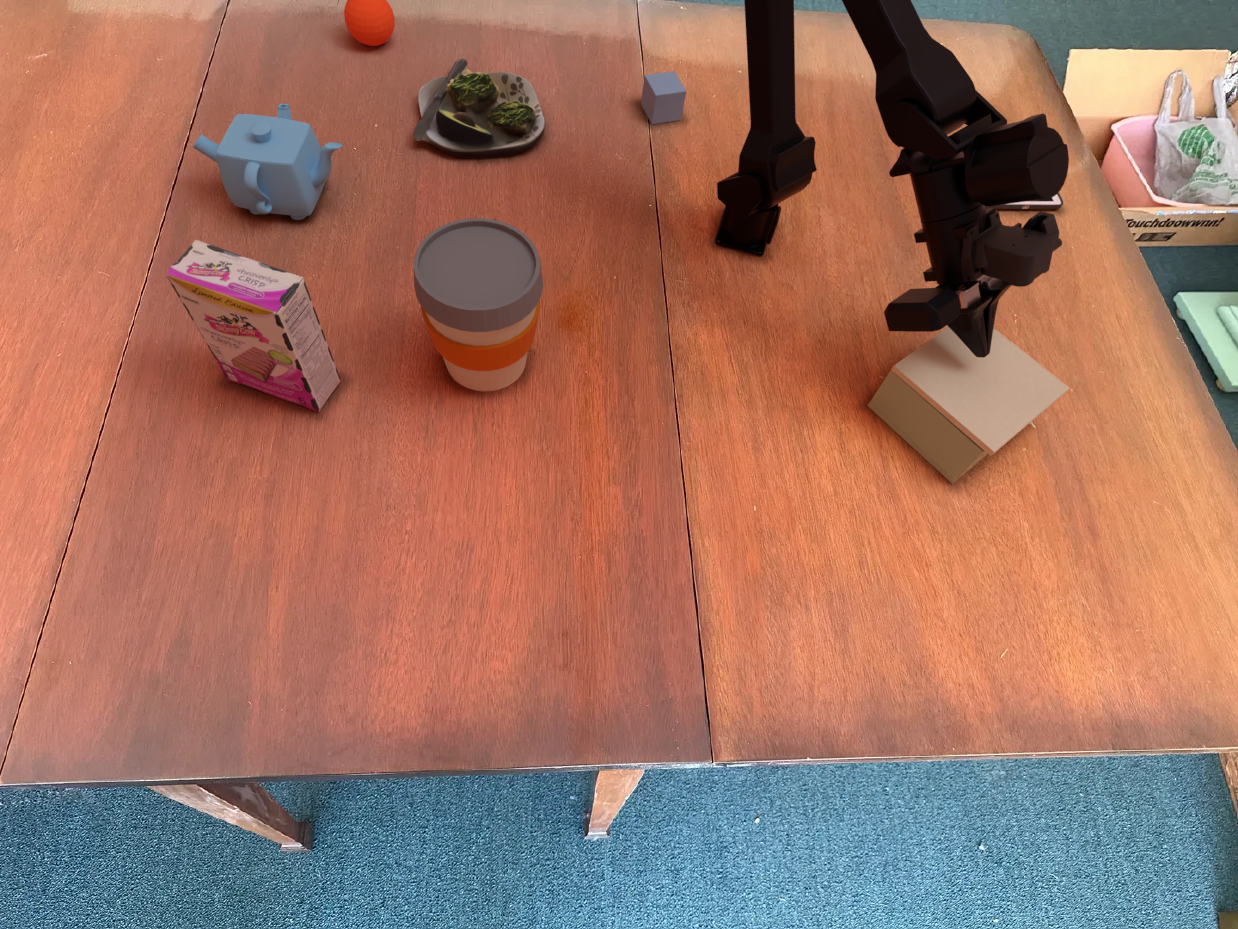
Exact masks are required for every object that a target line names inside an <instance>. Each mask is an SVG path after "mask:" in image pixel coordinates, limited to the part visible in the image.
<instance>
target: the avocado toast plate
mask: <svg viewBox="0 0 1238 929" xmlns="http://www.w3.org/2000/svg"><path fill="white" fill-rule="evenodd" d="M468 66H469V62H468V61H467V59H465V58H458V59H457V60H455V61H454V63H453V65H452V67H451V68H450V71H449V73H448V75H447V74H446V75H443V76H437V77H434V78H432V79H431V80H429V81H427V82H426V83H425V84H424V85H422V86H421V87H420V89H419V90H418V96H417V97H418V98H417V100H418V101H417V102H418V108H419V113H420V116H421V119H420V120H418V121H417V123H416V125H415V128H414V130H413V133H412V136H413V138H414V139H415V140H416V142H418V141H422V142H425V143H429V144H430V145H432V146H433V147H435V148H437V149H438V150H439V151H440V152H442V153H445V154H446V155H449V156H451V157H454V158H459V159H494V158H495V159H498V158H505V157H511V156H514V155H515V156H516V155H517V154H520V153H522V152H525V151H527V150H530V148H532V147H533V146H534V145H535V144H537V142H538V141H540V140H541V138H542V136H543V134H544V132H545V127H546V120H545V117H544V114H543V111H542V108H541V105H540V101H539V99H538V98H539V97H538V95H537V93H536V91H535V88H534V86H533V84H532V83H531V82H530V81H529V80H527V79H526V78H524V77H522V76H521V75H518V74H516V73H513V72H507V71H496V72H495V71H494V72H485V73H484V72H481V71H477V72H473V71H471V68H470V67H468Z"/></svg>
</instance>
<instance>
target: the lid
mask: <svg viewBox="0 0 1238 929" xmlns="http://www.w3.org/2000/svg"><path fill="white" fill-rule="evenodd" d="M891 370H892V371H893V372H894V373H895V374H896V375H898V376H899V377H900V378H901V379H902V380H903V381H904V382H906V383H907V384H908V385H909V386H910V387H911V388H913V389H914V390H915V391H916V392H917V393H918V394H919V395H921V396H922V397H923V398H924V399H925V400H926V401H928V402H929V403H930V404H931V405H932V406H933V407H935V408H936V409H937V410H938V411H939V412H940V413H941V414H943V415H944V416H945V417H946V418H947V419H948V420H950V421H951V422H952V423H953V424H954V425H955V426H956V427H958V428H959V429H960V430H961V431H962V432H963V433H965V434H966V435H967V436H968V437H969V438H970V439H972V440H973V441H974V442H975V443H976V444H977V445H978V446H980V447H981V448H982V449H983V450H984V451H985V452H987V453H988V454H987V455H988V456H990V457H992V456H993V455H994V454H995V453H997V452H998V451H999V450H1000V449H1001V448H1003V447H1004V446H1005V445H1006V444H1007V443H1008V442H1009V441H1011V440H1012V439H1013V438H1014V437H1016V436H1017V435H1018V434H1019V433H1021V431H1022V430H1024V429H1025V428H1026V427H1027V426H1028V425H1029V424H1031V423H1032V422H1033V421H1034V420H1036V418H1038V417H1039V416H1040V415H1041V414H1043V412H1045V411H1046V410H1047V409H1048V408H1050V407H1052V405H1053V404H1054V403H1055V402H1057V401H1058V400H1059V399H1060V398H1061V397H1062V396H1064V395H1065V394H1066V393H1067V392H1068V391H1069V390H1070V389H1071V388H1070V387H1069V386H1068V385H1067V384H1066V383H1065V382H1063V381H1062V380H1060V379H1059V378H1058V377H1057V376H1055V375H1054V374H1053V373H1052V372H1050V371H1049V370H1048V369H1046V368H1045V367H1044V366H1043V365H1041V364H1040V363H1039V362H1037V360H1035V359H1034V358H1033V357H1031V356H1030V354H1027V353H1026V352H1025V351H1024V350H1022V349H1021V348H1020V347H1018V345H1016V344H1014V343H1013V341H1011V340H1010V339H1009V338H1007V337H1006V336H1005V335H1004V334H1002V333H1001V332H999V330H997V329H996V328H995V327H994V328H993V334H992V341H991V348H990V353H989V354H988V355H987V356H986V357H984V358H981V357H976V356H975V355H974V354H973V353H972V352H971V351H970V350H969V348H968V347H967V346H966V345H965V344H964V343H963V342H962V341H961V340H960V338H959V337H958V336H957V335H956V334H955V333H954V332H953V331H952V330H951V329H950V328H949V327H948V326H946V327H944V328H943V329H941V331H940V332H938V333H937V334H935V335H934V336H933V337H931V338H929V339H928V340H927V341H926V342H924V343H923V344H922V345H920V346H918V347H917V348H915V350H913V351H912V352H910V353H909V354H908V355H906V356H905V357H904V358H902V359H901V360H899V361H898V362H896V363H895V364H894V365H892V367H891V369H890V371H891Z"/></svg>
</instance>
